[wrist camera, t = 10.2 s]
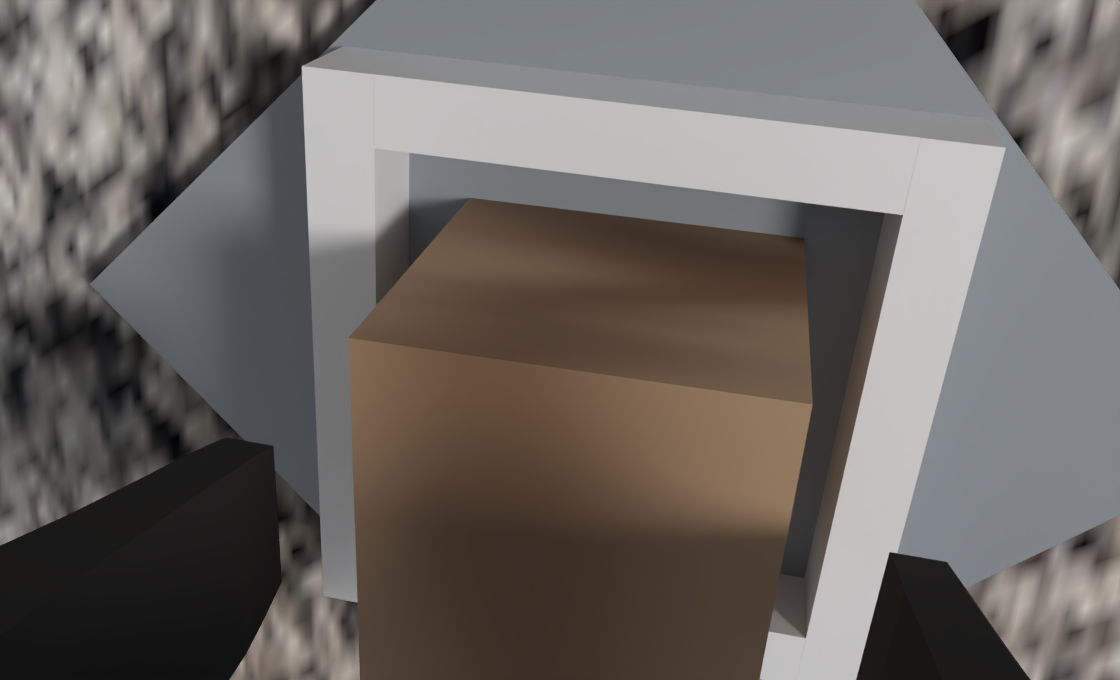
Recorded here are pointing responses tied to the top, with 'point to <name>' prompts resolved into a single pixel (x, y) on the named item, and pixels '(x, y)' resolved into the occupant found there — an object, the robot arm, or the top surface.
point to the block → (578, 449)
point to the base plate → (690, 198)
